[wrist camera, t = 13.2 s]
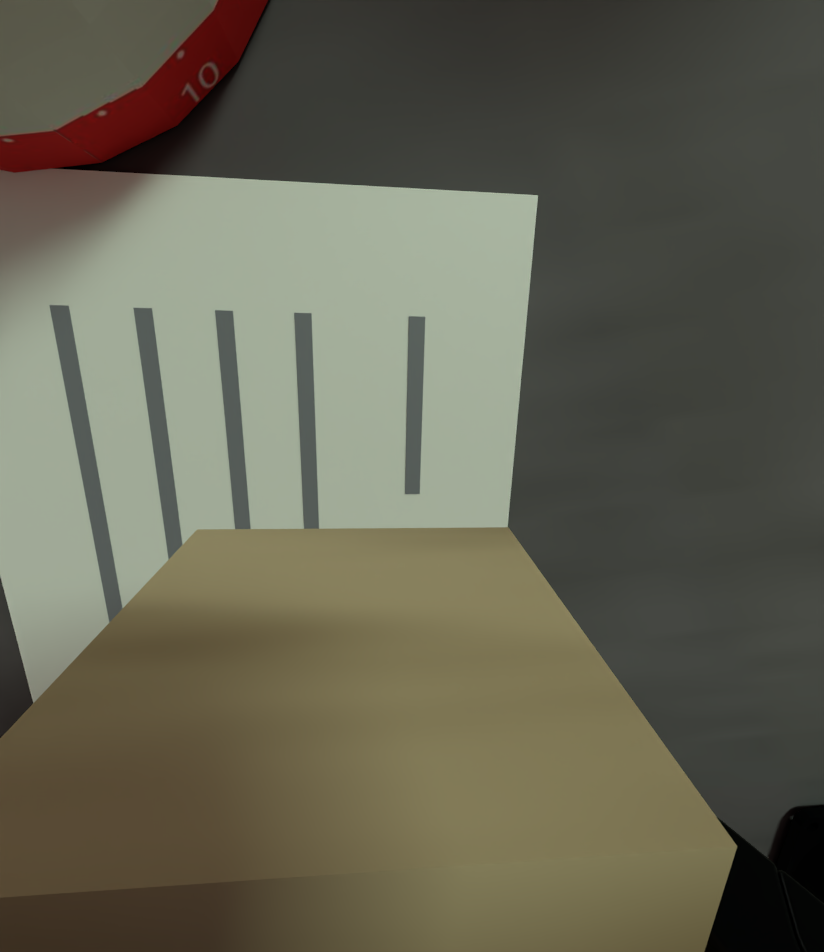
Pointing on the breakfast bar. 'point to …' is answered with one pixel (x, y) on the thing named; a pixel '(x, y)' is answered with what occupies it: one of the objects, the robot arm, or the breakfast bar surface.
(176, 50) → the kitchen timer
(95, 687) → the block
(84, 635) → the letter
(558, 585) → the breakfast bar surface
